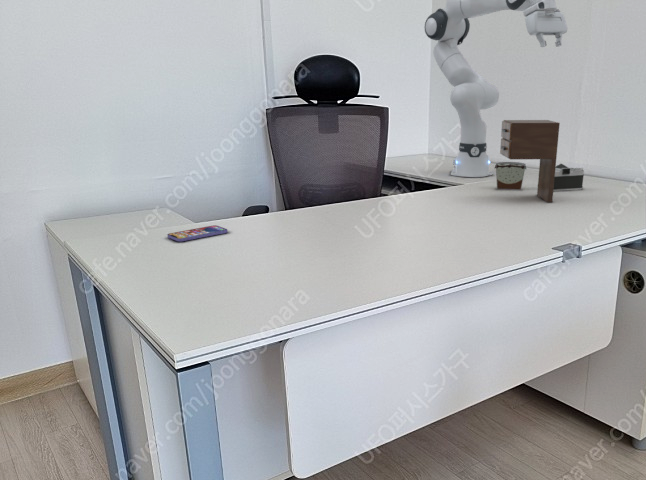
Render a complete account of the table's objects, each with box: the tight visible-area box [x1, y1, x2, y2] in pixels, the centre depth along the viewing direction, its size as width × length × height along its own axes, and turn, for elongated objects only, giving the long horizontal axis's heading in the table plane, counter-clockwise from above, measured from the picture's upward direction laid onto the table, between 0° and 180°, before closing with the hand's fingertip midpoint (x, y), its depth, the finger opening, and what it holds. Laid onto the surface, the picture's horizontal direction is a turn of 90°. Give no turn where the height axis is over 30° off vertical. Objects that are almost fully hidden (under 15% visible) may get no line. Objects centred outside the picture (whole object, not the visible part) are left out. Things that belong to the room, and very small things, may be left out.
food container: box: [494, 161, 527, 191], centre depth 233 cm, size 12×6×10 cm, turn 84°
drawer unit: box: [499, 119, 561, 204], centre depth 210 cm, size 14×17×27 cm
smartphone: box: [166, 224, 228, 242], centre depth 164 cm, size 1×7×15 cm
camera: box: [553, 163, 585, 192], centre depth 232 cm, size 16×9×10 cm, turn 108°
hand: (551, 46), depth 222 cm, fingers open, 8 cm apart
